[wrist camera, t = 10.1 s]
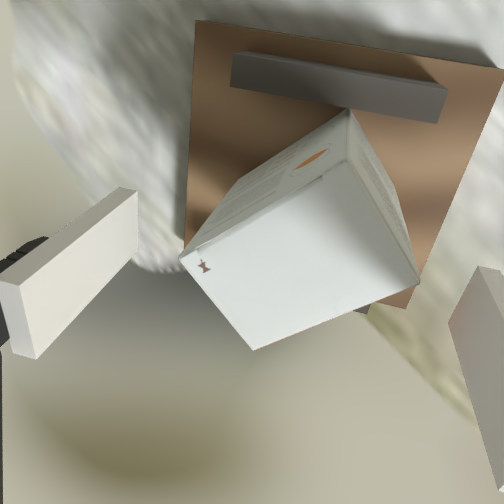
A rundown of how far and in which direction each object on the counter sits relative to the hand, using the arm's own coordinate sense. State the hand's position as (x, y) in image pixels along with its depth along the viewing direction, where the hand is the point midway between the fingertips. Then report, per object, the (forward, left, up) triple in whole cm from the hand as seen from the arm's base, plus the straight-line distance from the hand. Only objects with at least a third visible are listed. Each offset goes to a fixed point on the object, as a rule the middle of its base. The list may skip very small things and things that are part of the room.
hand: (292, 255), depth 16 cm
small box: (0, 0, -10) cm, 10 cm away
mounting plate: (0, 0, -11) cm, 11 cm away
